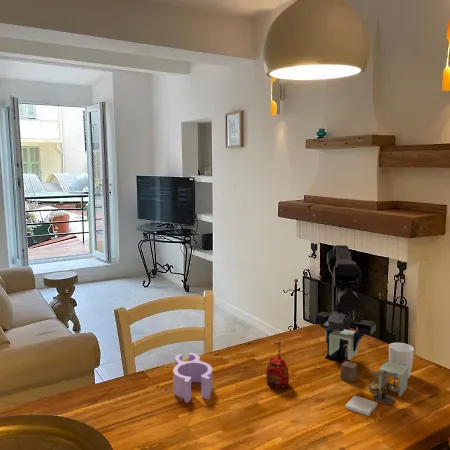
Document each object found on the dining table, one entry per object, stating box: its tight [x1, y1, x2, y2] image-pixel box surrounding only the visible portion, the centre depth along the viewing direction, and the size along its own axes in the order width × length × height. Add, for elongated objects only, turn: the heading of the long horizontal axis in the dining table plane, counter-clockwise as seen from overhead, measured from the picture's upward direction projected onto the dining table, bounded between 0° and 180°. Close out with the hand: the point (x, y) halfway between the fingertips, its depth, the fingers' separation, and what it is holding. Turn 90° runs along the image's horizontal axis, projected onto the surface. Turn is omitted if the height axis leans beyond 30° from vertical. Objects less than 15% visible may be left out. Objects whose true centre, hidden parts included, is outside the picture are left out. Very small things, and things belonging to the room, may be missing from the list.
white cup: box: [388, 342, 415, 379], centre depth 154 cm, size 8×8×10 cm
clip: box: [172, 352, 213, 403], centre depth 148 cm, size 20×12×7 cm, turn 16°
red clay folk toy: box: [265, 337, 290, 390], centre depth 148 cm, size 8×7×15 cm
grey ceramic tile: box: [345, 395, 378, 417], centre depth 135 cm, size 7×7×1 cm
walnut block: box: [340, 360, 358, 383], centre depth 152 cm, size 4×4×5 cm
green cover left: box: [329, 329, 359, 361], centre depth 147 cm, size 7×7×7 cm
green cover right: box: [378, 360, 409, 397], centre depth 145 cm, size 7×7×7 cm
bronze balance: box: [368, 371, 400, 406], centre depth 138 cm, size 9×4×10 cm, turn 53°
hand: (343, 348), depth 147 cm, fingers closed on green cover left, 7 cm apart
